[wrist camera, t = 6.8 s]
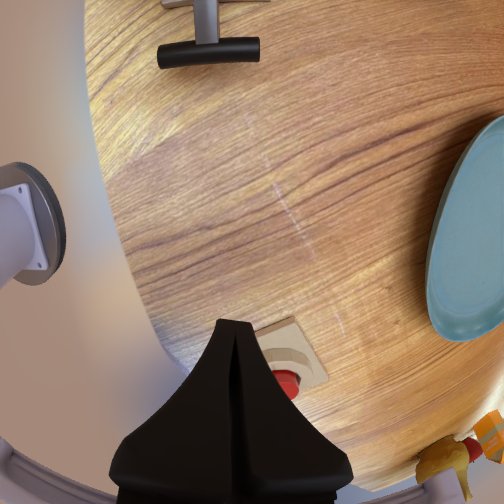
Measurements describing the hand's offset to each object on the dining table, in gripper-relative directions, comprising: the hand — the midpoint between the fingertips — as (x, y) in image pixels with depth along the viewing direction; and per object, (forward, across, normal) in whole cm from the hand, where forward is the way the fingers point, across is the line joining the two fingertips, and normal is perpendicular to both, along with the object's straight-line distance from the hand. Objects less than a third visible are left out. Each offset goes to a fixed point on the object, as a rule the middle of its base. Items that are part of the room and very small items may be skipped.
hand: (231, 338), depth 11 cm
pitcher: (+10, -66, +55) cm, 86 cm away
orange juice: (+10, -87, +47) cm, 99 cm away
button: (+8, -6, +12) cm, 16 cm away
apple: (+10, -93, +64) cm, 113 cm away
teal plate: (+10, -25, -6) cm, 28 cm away
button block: (+10, -6, +12) cm, 17 cm away
